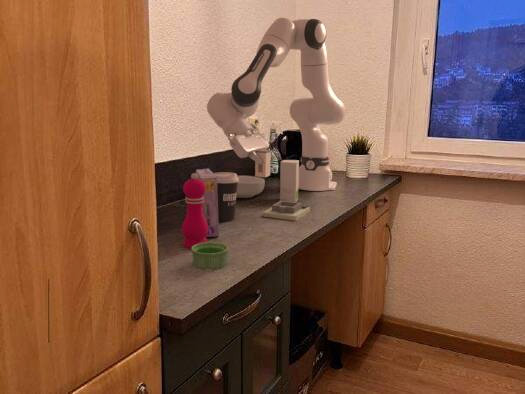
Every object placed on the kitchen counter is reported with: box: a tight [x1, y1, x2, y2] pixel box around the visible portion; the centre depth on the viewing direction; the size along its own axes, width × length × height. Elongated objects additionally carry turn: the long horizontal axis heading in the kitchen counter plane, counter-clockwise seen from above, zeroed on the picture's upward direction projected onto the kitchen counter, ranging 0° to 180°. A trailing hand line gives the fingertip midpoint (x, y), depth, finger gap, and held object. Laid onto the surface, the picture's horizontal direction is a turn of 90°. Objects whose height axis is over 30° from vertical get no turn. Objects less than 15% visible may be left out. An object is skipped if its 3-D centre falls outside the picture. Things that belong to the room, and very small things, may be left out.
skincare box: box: [279, 159, 300, 202], centre depth 188 cm, size 8×7×16 cm
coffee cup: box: [213, 171, 239, 222], centre depth 159 cm, size 10×10×15 cm
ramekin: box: [190, 241, 230, 270], centre depth 119 cm, size 9×9×4 cm
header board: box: [262, 200, 311, 222], centre depth 168 cm, size 14×12×4 cm
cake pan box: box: [195, 168, 220, 238], centre depth 147 cm, size 19×5×18 cm, turn 13°
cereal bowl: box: [236, 175, 266, 199], centre depth 195 cm, size 17×17×7 cm
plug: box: [254, 149, 272, 178], centre depth 170 cm, size 4×4×9 cm
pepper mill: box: [181, 172, 208, 249], centre depth 131 cm, size 7×7×20 cm
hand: (264, 162), depth 170 cm, fingers closed on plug, 4 cm apart
